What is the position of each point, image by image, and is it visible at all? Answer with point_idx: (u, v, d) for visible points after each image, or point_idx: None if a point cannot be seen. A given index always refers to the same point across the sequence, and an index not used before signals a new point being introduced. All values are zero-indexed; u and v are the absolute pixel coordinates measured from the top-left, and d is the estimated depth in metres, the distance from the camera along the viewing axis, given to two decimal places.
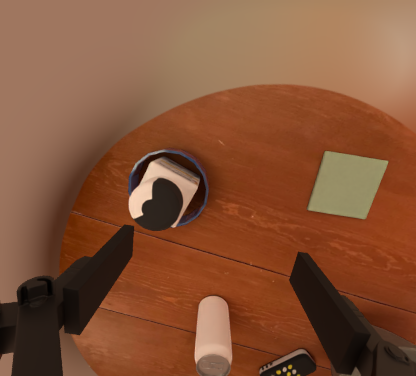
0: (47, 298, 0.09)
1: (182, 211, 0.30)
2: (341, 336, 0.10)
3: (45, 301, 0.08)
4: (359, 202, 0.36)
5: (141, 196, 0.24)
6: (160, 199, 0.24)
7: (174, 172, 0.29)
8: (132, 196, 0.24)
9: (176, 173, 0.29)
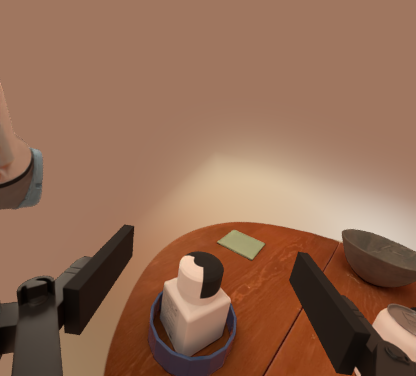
0: (47, 298, 0.09)
1: None
2: (341, 336, 0.10)
3: (45, 301, 0.08)
4: (253, 242, 0.62)
5: (188, 261, 0.29)
6: (198, 254, 0.31)
7: None
8: (184, 268, 0.28)
9: None
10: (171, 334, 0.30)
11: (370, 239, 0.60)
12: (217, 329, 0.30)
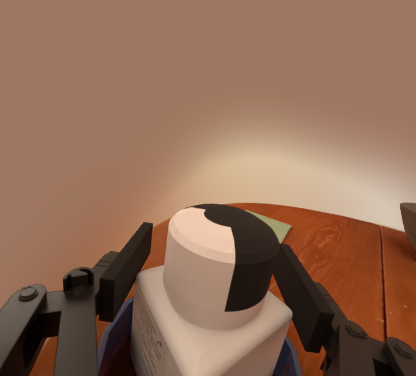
0: (87, 288, 0.09)
1: None
2: (310, 317, 0.11)
3: (85, 291, 0.09)
4: (275, 223, 0.45)
5: (191, 216, 0.11)
6: (212, 206, 0.13)
7: None
8: (180, 229, 0.10)
9: None
10: None
11: None
12: None
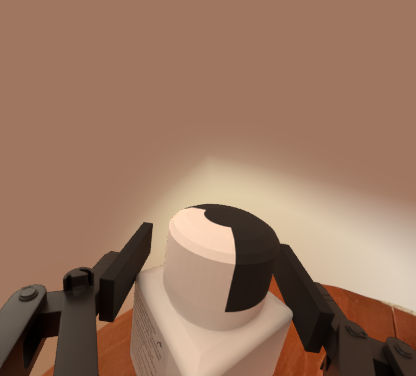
0: (87, 288, 0.09)
1: None
2: (310, 317, 0.11)
3: (85, 291, 0.09)
4: None
5: (191, 216, 0.11)
6: (212, 206, 0.13)
7: None
8: (180, 229, 0.10)
9: None
10: None
11: None
12: None
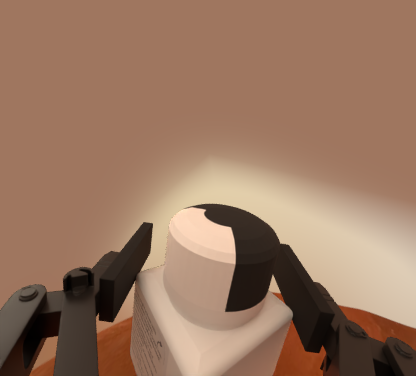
0: (87, 288, 0.09)
1: None
2: (310, 317, 0.11)
3: (85, 291, 0.09)
4: None
5: (191, 216, 0.11)
6: (212, 206, 0.13)
7: None
8: (180, 229, 0.10)
9: None
10: None
11: None
12: None
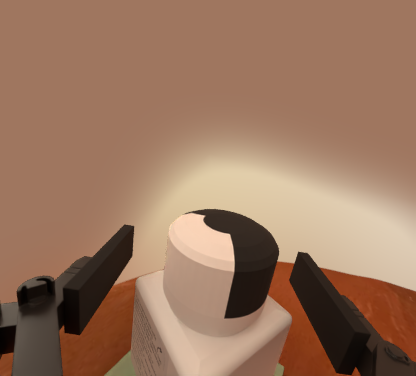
0: (47, 298, 0.09)
1: None
2: (341, 336, 0.10)
3: (45, 301, 0.08)
4: None
5: (190, 222, 0.11)
6: (212, 211, 0.13)
7: None
8: (180, 236, 0.10)
9: None
10: None
11: None
12: None
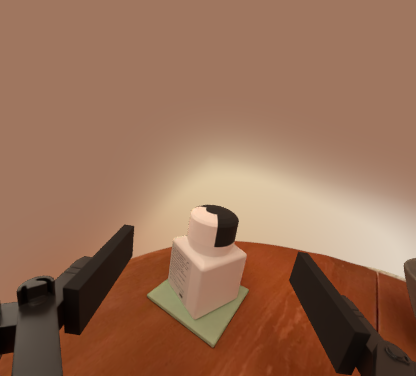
0: (47, 298, 0.08)
1: None
2: (341, 336, 0.10)
3: (45, 301, 0.08)
4: None
5: (200, 210, 0.26)
6: (209, 206, 0.28)
7: None
8: (196, 215, 0.25)
9: None
10: (181, 293, 0.27)
11: None
12: (232, 287, 0.28)
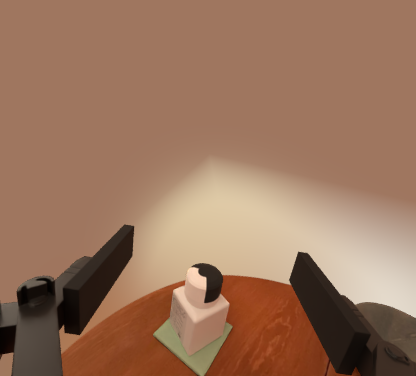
0: (47, 298, 0.09)
1: None
2: (341, 336, 0.10)
3: (45, 301, 0.08)
4: None
5: (193, 272, 0.35)
6: (201, 266, 0.37)
7: None
8: (190, 278, 0.34)
9: None
10: (180, 334, 0.36)
11: (392, 318, 0.39)
12: (218, 328, 0.36)
